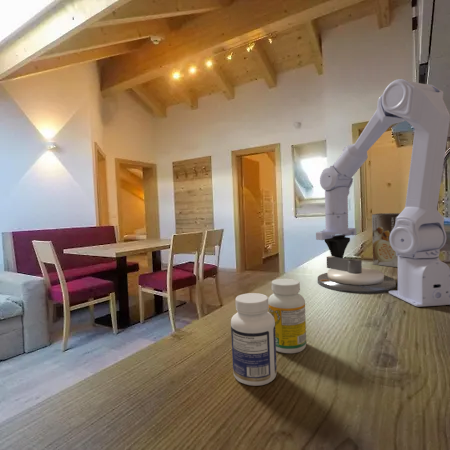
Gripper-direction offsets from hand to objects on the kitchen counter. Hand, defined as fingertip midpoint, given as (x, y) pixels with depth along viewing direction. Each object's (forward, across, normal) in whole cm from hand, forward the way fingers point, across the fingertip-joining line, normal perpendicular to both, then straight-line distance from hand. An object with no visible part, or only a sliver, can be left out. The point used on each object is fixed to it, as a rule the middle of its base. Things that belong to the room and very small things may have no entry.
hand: (337, 263), depth 85 cm
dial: (+2, +2, +6) cm, 7 cm away
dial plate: (+4, +2, +6) cm, 8 cm away
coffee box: (+4, -25, +1) cm, 25 cm away
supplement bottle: (+4, +39, +21) cm, 45 cm away
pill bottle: (+4, +48, +24) cm, 54 cm away
